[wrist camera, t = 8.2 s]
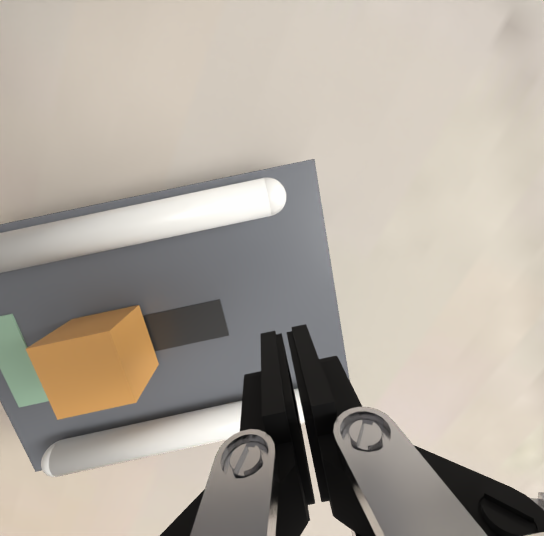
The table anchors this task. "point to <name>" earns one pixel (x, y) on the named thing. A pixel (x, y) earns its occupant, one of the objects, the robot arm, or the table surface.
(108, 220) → the cord
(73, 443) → the cord
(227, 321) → the grey slider switch panel
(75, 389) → the block
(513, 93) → the table surface
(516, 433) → the table surface
